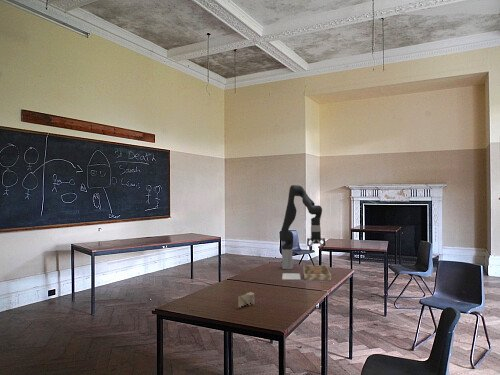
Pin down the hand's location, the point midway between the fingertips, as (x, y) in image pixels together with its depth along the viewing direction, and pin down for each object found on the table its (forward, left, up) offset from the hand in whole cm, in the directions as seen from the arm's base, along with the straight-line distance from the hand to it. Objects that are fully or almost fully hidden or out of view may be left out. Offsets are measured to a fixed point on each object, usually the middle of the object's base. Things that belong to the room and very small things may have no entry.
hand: (316, 251), depth 288 cm
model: (-47, -78, -21) cm, 94 cm away
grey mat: (-20, 0, -20) cm, 28 cm away
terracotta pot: (0, 0, -20) cm, 20 cm away
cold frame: (0, 0, -20) cm, 20 cm away
